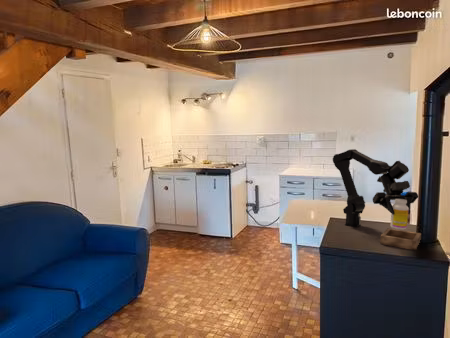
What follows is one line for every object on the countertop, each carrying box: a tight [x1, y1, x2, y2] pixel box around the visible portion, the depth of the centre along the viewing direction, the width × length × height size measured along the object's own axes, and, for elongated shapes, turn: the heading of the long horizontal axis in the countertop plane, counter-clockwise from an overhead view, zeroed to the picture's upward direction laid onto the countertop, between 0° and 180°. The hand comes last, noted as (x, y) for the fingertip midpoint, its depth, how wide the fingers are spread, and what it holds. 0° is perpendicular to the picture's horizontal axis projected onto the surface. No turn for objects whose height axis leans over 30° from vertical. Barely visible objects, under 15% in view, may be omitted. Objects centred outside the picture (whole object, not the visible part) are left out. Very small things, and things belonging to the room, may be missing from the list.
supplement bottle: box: [390, 199, 409, 231], centre depth 155 cm, size 7×7×13 cm
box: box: [380, 228, 422, 251], centre depth 156 cm, size 14×14×4 cm
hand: (401, 214), depth 153 cm, fingers closed on supplement bottle, 7 cm apart
